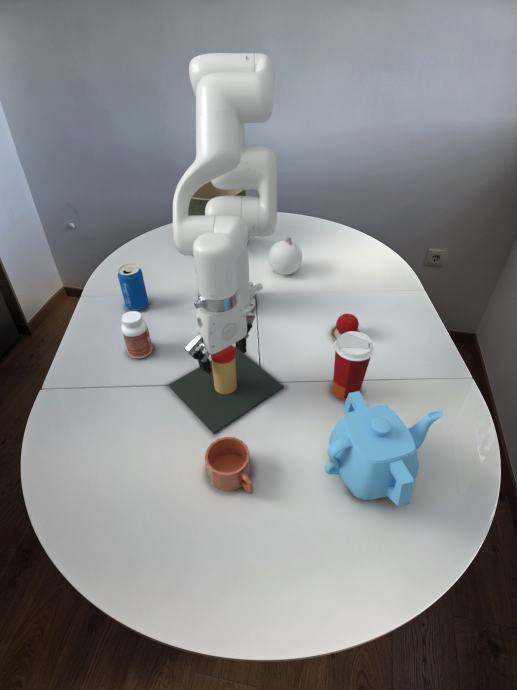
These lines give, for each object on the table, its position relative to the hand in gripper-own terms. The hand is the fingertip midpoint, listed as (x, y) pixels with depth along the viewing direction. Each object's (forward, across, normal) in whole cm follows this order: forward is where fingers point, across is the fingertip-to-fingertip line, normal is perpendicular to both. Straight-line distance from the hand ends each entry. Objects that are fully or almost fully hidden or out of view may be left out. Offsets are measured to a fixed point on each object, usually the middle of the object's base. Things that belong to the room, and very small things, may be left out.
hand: (223, 359), depth 95 cm
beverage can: (+9, 0, +42) cm, 43 cm away
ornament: (+9, +44, +27) cm, 52 cm away
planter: (+10, +39, +57) cm, 69 cm away
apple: (+9, +35, -6) cm, 36 cm away
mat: (+8, 0, 0) cm, 8 cm away
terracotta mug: (+8, -13, -20) cm, 25 cm away
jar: (+8, 0, 0) cm, 8 cm away
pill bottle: (+9, -9, +24) cm, 27 cm away
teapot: (+8, +9, -36) cm, 38 cm away
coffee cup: (+9, +20, -19) cm, 29 cm away
